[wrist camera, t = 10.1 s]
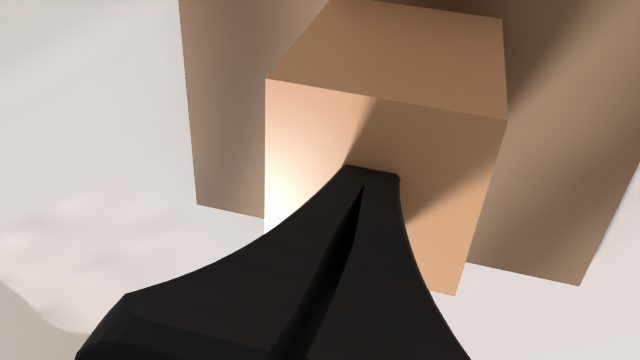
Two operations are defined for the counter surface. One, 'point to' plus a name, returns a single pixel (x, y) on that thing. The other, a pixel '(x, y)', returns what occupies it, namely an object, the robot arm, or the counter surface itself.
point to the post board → (520, 135)
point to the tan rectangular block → (392, 118)
